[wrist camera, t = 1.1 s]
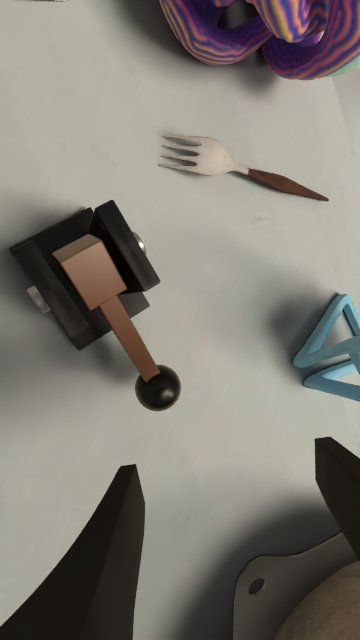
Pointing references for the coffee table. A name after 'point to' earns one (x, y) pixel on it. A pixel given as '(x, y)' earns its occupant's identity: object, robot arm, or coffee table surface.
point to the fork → (231, 166)
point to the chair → (333, 352)
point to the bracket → (58, 291)
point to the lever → (116, 316)
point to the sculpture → (273, 34)
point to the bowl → (327, 610)
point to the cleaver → (283, 586)
